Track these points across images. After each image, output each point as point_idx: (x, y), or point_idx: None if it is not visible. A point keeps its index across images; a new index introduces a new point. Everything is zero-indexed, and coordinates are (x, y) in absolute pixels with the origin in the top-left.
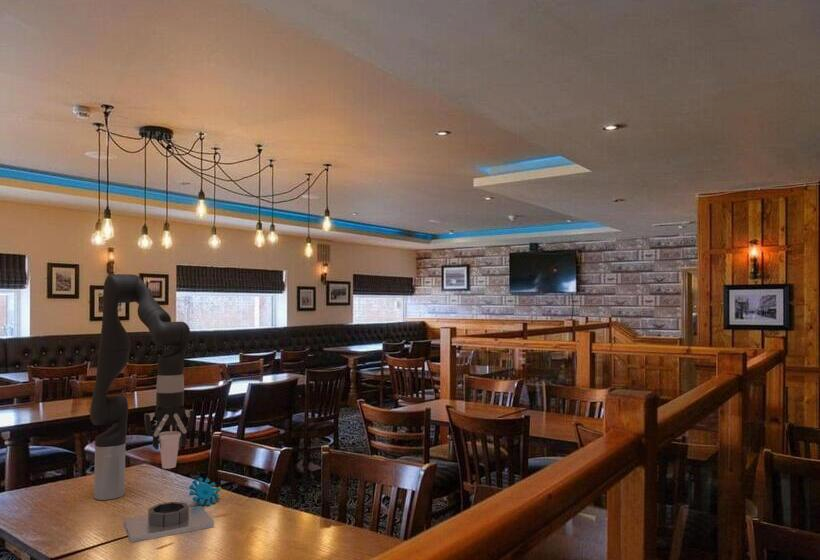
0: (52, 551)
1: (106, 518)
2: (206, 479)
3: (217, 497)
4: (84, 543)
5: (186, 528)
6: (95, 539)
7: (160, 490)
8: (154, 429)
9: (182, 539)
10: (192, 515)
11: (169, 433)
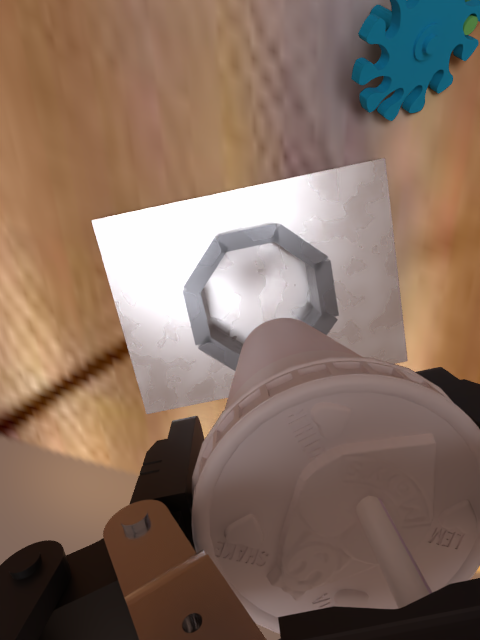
0: None
1: (17, 125)
2: None
3: (465, 60)
4: (8, 367)
5: None
6: (34, 343)
7: None
8: (123, 595)
9: None
10: (343, 270)
11: (347, 554)
